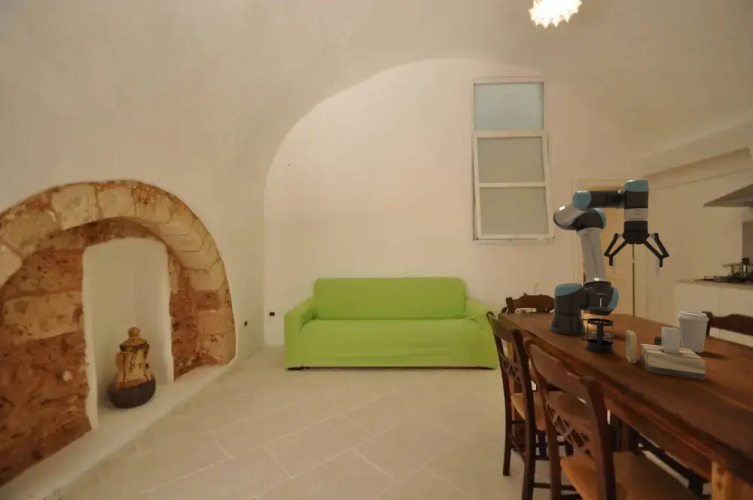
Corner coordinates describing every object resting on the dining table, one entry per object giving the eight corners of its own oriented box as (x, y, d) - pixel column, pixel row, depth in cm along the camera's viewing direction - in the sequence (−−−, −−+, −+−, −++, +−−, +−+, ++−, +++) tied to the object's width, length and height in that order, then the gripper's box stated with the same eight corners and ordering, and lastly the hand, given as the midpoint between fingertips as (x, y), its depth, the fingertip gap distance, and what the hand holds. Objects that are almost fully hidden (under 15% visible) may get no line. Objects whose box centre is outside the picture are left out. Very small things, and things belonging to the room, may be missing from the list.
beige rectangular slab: (625, 356, 132) (626, 330, 132) (632, 356, 131) (632, 330, 131) (629, 362, 125) (629, 334, 124) (636, 363, 124) (636, 335, 124)
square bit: (661, 360, 120) (661, 326, 120) (675, 362, 118) (676, 328, 118) (664, 364, 117) (664, 329, 117) (679, 366, 115) (680, 330, 115)
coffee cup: (715, 353, 134) (716, 315, 134) (690, 353, 135) (691, 315, 134) (693, 346, 144) (694, 310, 144) (670, 346, 144) (670, 310, 144)
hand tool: (682, 361, 127) (683, 348, 127) (669, 359, 128) (669, 347, 128) (663, 347, 144) (663, 336, 144) (651, 346, 146) (652, 335, 146)
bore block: (640, 359, 127) (640, 343, 127) (690, 366, 121) (690, 349, 120) (649, 372, 115) (649, 354, 115) (704, 380, 108) (705, 361, 108)
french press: (616, 349, 140) (617, 293, 139) (615, 355, 132) (616, 295, 132) (582, 344, 147) (583, 290, 146) (580, 349, 139) (581, 293, 139)
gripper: (598, 220, 135) (597, 274, 136) (680, 218, 124) (679, 277, 124) (596, 221, 142) (595, 273, 142) (674, 220, 130) (673, 276, 131)
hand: (634, 275), depth 133 cm, fingers open, 13 cm apart
